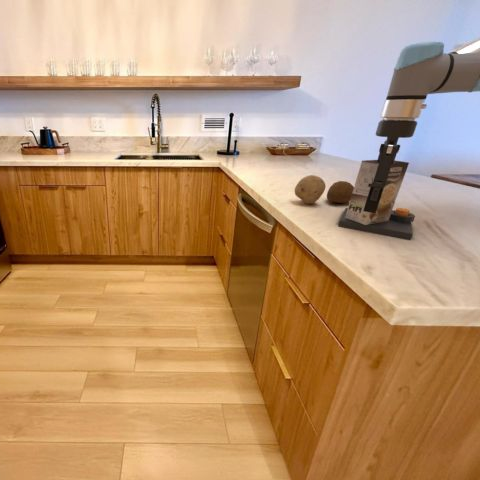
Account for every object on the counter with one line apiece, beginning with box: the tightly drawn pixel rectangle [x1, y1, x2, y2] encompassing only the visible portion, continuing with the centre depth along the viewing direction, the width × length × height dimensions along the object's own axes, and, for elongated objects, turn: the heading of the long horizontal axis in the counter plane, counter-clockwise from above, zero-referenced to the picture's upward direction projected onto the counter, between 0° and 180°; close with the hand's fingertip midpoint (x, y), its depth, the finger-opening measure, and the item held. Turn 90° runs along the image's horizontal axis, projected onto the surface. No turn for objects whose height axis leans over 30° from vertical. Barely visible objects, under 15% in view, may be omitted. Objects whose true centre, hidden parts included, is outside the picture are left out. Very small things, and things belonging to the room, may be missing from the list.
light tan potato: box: [294, 174, 326, 205], centre depth 98 cm, size 9×9×10 cm
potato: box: [326, 180, 355, 204], centre depth 100 cm, size 8×12×8 cm, turn 139°
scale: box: [337, 207, 416, 241], centre depth 81 cm, size 16×14×4 cm
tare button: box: [395, 207, 411, 216], centre depth 80 cm, size 3×3×2 cm
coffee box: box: [345, 159, 410, 225], centre depth 77 cm, size 9×6×16 cm
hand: (370, 206), depth 79 cm, fingers closed on coffee box, 10 cm apart
